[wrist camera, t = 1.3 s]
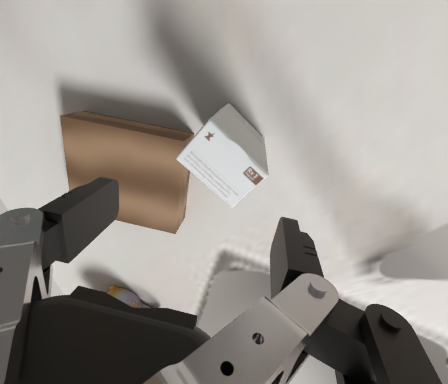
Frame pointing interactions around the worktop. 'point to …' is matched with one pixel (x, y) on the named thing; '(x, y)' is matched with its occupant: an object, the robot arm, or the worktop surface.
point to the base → (130, 165)
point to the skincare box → (227, 155)
